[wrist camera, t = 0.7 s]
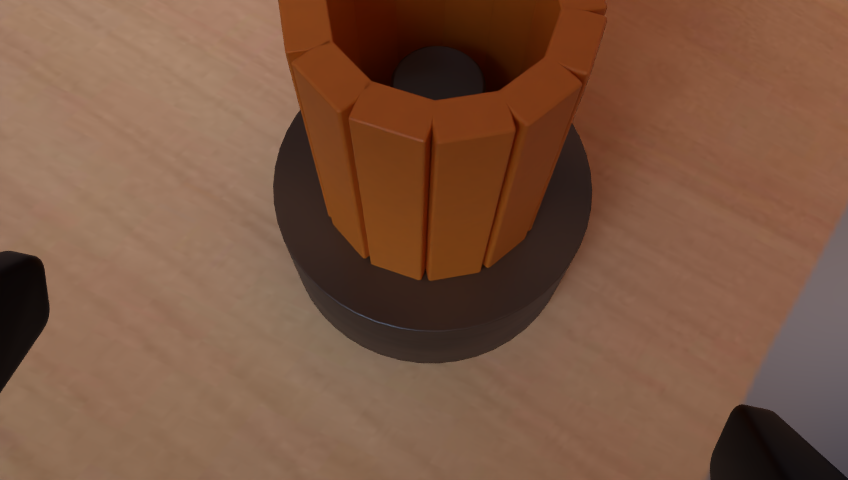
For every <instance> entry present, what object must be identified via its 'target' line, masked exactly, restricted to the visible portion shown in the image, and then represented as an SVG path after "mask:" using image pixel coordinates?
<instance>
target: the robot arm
mask: <svg viewBox="0 0 848 480" xmlns="http://www.w3.org/2000/svg"><path fill="white" fill-rule="evenodd" d="M49 310H50V309H49V300H48V292H47V285H46V277H45V269H44V265H43V263H42V261H41V260H40V259H39V258H38V257H36V256H33V255H28V254H24V253H19V252H14V251H3V252H0V393H1V391H2V390H3V388H4V387H5V385H6V384H7V382H8V381H9V379H10V378H11V376H12V375H13V373H14V372H15V370H16V369H17V367H18V366H19V365H20V363H21V362H22V360H23V359H24V357H25V356H26V354H27V353H28V351H29V350H30V348H31V347H32V345H33V344H34V342H35V341H36V339H37V338H38V337H39V335H40V334H41V332H42V331H43V329H44V327H45V326H46V323H47V321H48V317H49ZM710 479H711V480H848V478H847V477H845V476H844V475H843V474H842V473H841V472H840V471H839V470H838V469H837V468H836V467H834V466H833V465H832V464H831V463H830V462H829V461H828V460H827V459H826V458H824V457H823V456H822V455H821V454H820V453H819V452H818V451H817V450H815V449H814V448H813V447H812V446H811V445H810V444H809V443H808V442H807V441H806V440H804V439H803V438H802V437H801V436H800V435H799V434H798V433H797V432H796V431H795V430H794V429H792V428H791V427H790V426H789V425H788V424H787V423H786V422H785V421H784V420H782V419H781V418H780V417H779V416H778V415H777V414H776V413H774V412H773V411H770V410H767V409H763V408H757V407H753V406H748V405H743V404H741V405H738V406H736V407H735V408H734V409H733V410H732V412H731V413H730V416H729V418H728V420H727V422H726V424H725V426H724V429H723V431H722V433H721V435H720V437H719V440H718V442H717V444H716V446H715V448H714V451H713V453H712V457H711V462H710Z"/></svg>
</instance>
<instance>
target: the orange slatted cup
mask: <svg viewBox="0 0 848 480" xmlns="http://www.w3.org/2000/svg"><path fill="white" fill-rule="evenodd" d="M278 2H279V10H280V17H281V25H282V32H283V39H284V47H285V53H286V57H287V61H288V65H289V68H290V72H291V76H292V80H293V83H294V87H295V91H296V95H297V99H298V102H299V106H300V110H301V114H302V117H303V121H304V125H305V129H306V133H307V136H308V140H309V144H310V148H311V151H312V155H313V159H314V163H315V167H316V170H317V174H318V178H319V182H320V186H321V189H322V193H323V197H324V201H325V204H326V208H327V212H328V216H329V217H331V219H332V223H333V225H334V226H335V227H336V228H337V229H338V231H339V232H340V233H341V234H342V235H343V236H344V237H345V238H346V240H347V241H348V242H349V243H350V244H351V245H352V246H353V248H354V249H355V250H356V251H357V252H358V253H359V254H360V256H361V257H362V258H364V259H365V258H367V257H368V256H370V260H371V264H372V265H375V266H378V267H381V268H384V269H387V270H390V271H393V272H396V273H399V274H402V275H405V276H407V277H410V278H413V279H416V280H421V279H422V277H423V274H424V272H425V269H426V273H427V278H428V280H429V281H433V280H439V279H445V278H451V277H457V276H462V275H468V274H474V273H479V272H480V271H481V267H482V264H483V265H484V266H485V267H487V268H489V267H491V266H492V265H493V264H495V263H496V262H497V261H498V260H500V259H501V258H502V257H503V256H504V255H506V254H507V253H508V252H509V251H510V250H512V249H513V248H514V247H515V246H517V245H518V244H519V243H520V242H521V241H523V240H524V239H525V237H526V234H527V231H530V230H531V229H532V226H533V223H534V221H535V218H536V215H537V213H538V210H539V208H540V205H541V202H542V200H543V197H544V195H545V192H546V189H547V187H548V184H549V181H550V179H551V176H552V174H553V171H554V168H555V166H556V163H557V160H558V158H559V155H560V153H561V150H562V147H563V145H564V142H565V140H566V137H567V134H568V132H569V129H570V126H571V124H572V121H573V119H574V116H575V113H576V111H577V108H578V105H579V103H580V100H581V98H582V95H583V92H584V90H585V87H586V85H587V82H588V79H589V77H590V74H591V71H592V68H593V65H594V61H595V58H596V55H597V52H598V49H599V45H600V42H601V39H602V36H603V33H604V30H605V26H606V23H607V18H606V16H604V15H605V12H606V9H607V4H606V1H605V0H278ZM428 46H446V47H451V48H454V49H457V50H460V51H462V52H464V53H465V54H467V55H468V56H470V57H471V58H472V59H473V60H474V61H475V62H476V63H477V64H478V66H479V67H480V69H481V71H482V73H483V75H484V78H485V83H486V92H485V93H480V94H474V95H467V96H460V97H454V98H447V99H441V100H432V99H429V98H426V97H422V96H419V95H416V94H413V93H409V92H406V91H403V90H399V89H396V88H393V87H390V81H391V76H392V74H393V71H394V69H395V68H396V66H397V65H398V63H399V62H400V61H401V60H402V59H403V58H404V57H405V56H407V55H408V54H410V53H411V52H413V51H415V50H417V49H420V48H423V47H428Z"/></svg>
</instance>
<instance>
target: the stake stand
mask: <svg viewBox="0 0 848 480" xmlns="http://www.w3.org/2000/svg"><path fill="white" fill-rule="evenodd" d="M390 87H393V88H396V89H399V90H403V91H406V92H409V93H413V94H416V95H419V96H422V97H426V98H429V99H432V100H441V99H447V98H454V97H460V96H467V95H474V94H480V93H485V92H486V83H485V78H484V75H483V73H482V71H481V69H480V67H479V66H478V64H477V63H476V62H475V61H474V60H473V59H472V58H471V57H470V56H468V55H467V54H465V53H464V52H462V51H460V50H457V49H454V48H451V47H446V46H428V47H423V48H420V49H417V50H415V51H413V52H411V53H410V54H408V55H407V56H405V57H404V58H403V59H402V60H401V61H400V62H399V63H398V65H397V66H396V68H395V69H394V71H393V74H392V76H391V81H390ZM273 191H274V206H275V211H276V216H277V221H278V225H279V228H280V230H281V233H282V236H283V239H284V242H285V244H286V246H287V248H288V251H289V253H290V255H291V258H292V260H293V262H294V264H295V267H296V269H297V271H298V274H299V276H300V278H301V281H302V283H303V285H304V287H305V289H306V291H307V292H308V294H309V296H310V298H311V300H312V301H313V302H314V304H315V305H316V307H317V308H318V309H319V311H320V312H321V313H322V315H323V316H324V317H325V318H326V319H327V320H328V321H329V322H330V323H331V324H332V325H333V326H334V327H335V328H336V329H338V330H339V331H340V332H342V333H343V334H344V335H345V336H347V337H348V338H349V339H351V340H353V341H354V342H356V343H358V344H359V345H361V346H363V347H365V348H367V349H369V350H372V351H374V352H376V353H379V354H381V355H384V356H388V357H391V358H395V359H398V360H403V361H410V362H417V363H444V362H453V361H460V360H464V359H468V358H472V357H476V356H478V355H481V354H484V353H486V352H489V351H491V350H494V349H496V348H497V347H499V346H501V345H503V344H504V343H506V342H508V341H510V340H511V339H513V338H514V337H515V336H517V335H518V334H519V333H520V332H522V331H523V330H524V329H526V328H527V327H528V326H529V325H530V324H531V323H532V322H533V321H534V320H535V319H536V318H537V317H538V315H539V314H540V313H541V311H542V310H543V309H544V307H545V306H546V305H547V303H548V302H549V300H550V298H551V297H552V295H553V293H554V291H555V290H556V288H557V286H558V284H559V283H560V281H561V279H562V277H563V276H564V274H565V272H566V270H567V269H568V267H569V265H570V263H571V262H572V260H573V258H574V256H575V254H576V253H577V251H578V249H579V247H580V245H581V242H582V240H583V237H584V234H585V232H586V229H587V225H588V221H589V216H590V211H591V199H592V184H591V173H590V168H589V164H588V160H587V155H586V152H585V150H584V147H583V144H582V142H581V139H580V137H579V135H578V133H577V131H576V129H575V128H574V126H573V124H571V126H570V129H569V132H568V134H567V137H566V140H565V142H564V145H563V147H562V150H561V153H560V155H559V158H558V160H557V163H556V166H555V168H554V171H553V174H552V176H551V179H550V181H549V184H548V187H547V189H546V192H545V195H544V197H543V200H542V202H541V205H540V208H539V210H538V213H537V215H536V218H535V221H534V223H533V226H532V229H531V230H530V231H527V234H526V237H525V239H524V240H523V241H521V242H520V243H519V244H518V245H517V246H515V247H514V248H513V249H512V250H510V251H509V252H508V253H507V254H506V255H504V256H503V257H502V258H501V259H500V260H498V261H497V262H496V263H495V264H493V265H492V266H491V267H489V268H487V267H485V266H484V265H483V264H482V267H481V271H480V272H479V273H474V274H468V275H462V276H457V277H451V278H445V279H439V280H433V281H429V280H428V278H427V273H426V269H425V272H424V274H423V277H422V279H421V280H416V279H413V278H410V277H407V276H405V275H402V274H399V273H396V272H393V271H390V270H387V269H384V268H381V267H378V266H375V265H372V264H371V260H370V256H368V257H367V258H365V259H364V258H362V257H361V256H360V254H359V253H358V252H357V251H356V250H355V249H354V248H353V246H352V245H351V244H350V243H349V242H348V241H347V240H346V238H345V237H344V236H343V235H342V234H341V233H340V232H339V231H338V229H337V228H336V227H335V226H334V225H333V223H332V219H331V217H329V216H328V212H327V208H326V204H325V201H324V197H323V193H322V189H321V186H320V182H319V178H318V174H317V170H316V167H315V163H314V159H313V155H312V151H311V148H310V144H309V140H308V136H307V133H306V129H305V125H304V121H303V117H302V114H301V110H300V111H299V112H298V114H297V115H296V117H295V118H294V120H293V122H292V123H291V125H290V127H289V129H288V130H287V132H286V135H285V137H284V139H283V142H282V144H281V147H280V150H279V153H278V157H277V161H276V165H275V173H274V183H273Z"/></svg>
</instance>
